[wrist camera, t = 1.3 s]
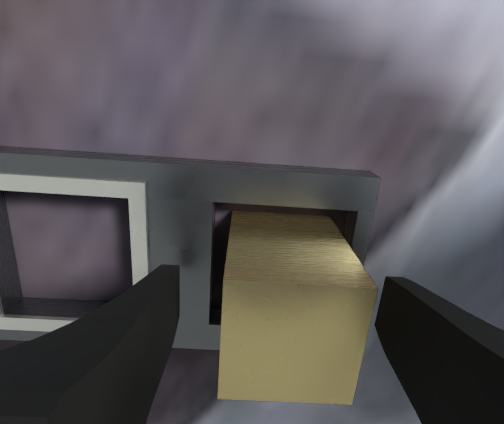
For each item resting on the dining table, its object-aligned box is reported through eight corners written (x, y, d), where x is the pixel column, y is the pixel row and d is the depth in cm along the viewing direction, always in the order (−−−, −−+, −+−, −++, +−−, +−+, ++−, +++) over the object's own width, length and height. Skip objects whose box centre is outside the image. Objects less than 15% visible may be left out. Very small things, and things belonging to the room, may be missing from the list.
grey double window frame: (369, 170, 13) (383, 179, 12) (338, 337, 16) (346, 359, 14) (-22, 144, 13) (-53, 150, 11) (13, 321, 15) (-9, 342, 14)
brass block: (329, 215, 14) (378, 288, 9) (316, 298, 15) (352, 404, 10) (232, 209, 14) (223, 279, 8) (227, 294, 15) (217, 399, 10)
